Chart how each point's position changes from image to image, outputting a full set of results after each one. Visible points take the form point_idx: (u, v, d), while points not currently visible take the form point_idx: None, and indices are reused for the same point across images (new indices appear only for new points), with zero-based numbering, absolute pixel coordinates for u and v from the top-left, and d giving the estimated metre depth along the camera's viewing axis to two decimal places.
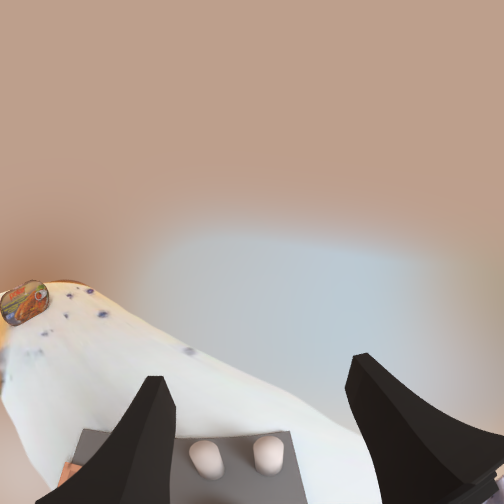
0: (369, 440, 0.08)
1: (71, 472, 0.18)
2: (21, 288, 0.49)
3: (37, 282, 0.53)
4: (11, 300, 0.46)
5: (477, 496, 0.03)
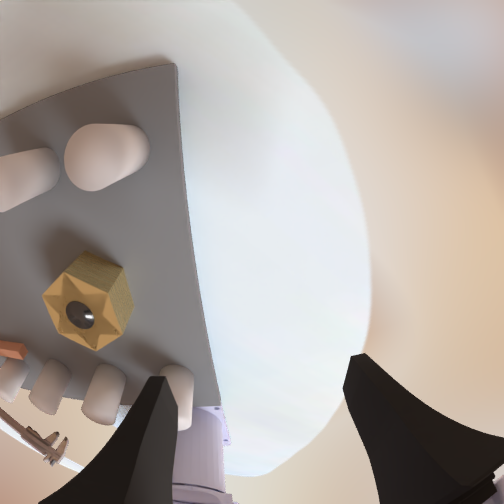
0: (367, 441, 0.08)
1: None
2: None
3: None
4: None
5: (475, 498, 0.03)
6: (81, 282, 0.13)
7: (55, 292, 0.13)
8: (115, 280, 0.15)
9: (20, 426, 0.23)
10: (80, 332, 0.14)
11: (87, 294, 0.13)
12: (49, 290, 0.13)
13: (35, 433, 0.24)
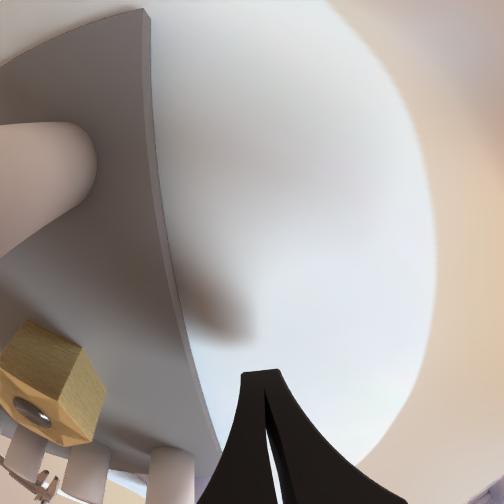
0: (275, 461, 0.08)
1: None
2: None
3: None
4: None
5: None
6: (19, 381, 0.06)
7: None
8: (69, 374, 0.08)
9: None
10: (38, 427, 0.08)
11: (32, 396, 0.07)
12: None
13: None
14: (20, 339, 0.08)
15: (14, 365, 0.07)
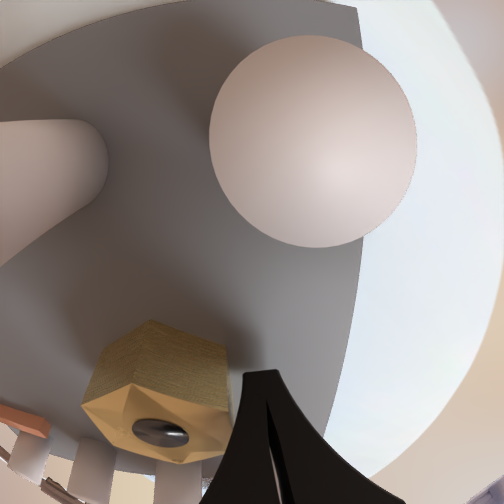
0: (274, 461, 0.08)
1: None
2: None
3: None
4: None
5: None
6: (172, 399, 0.07)
7: (110, 406, 0.07)
8: (225, 377, 0.09)
9: None
10: (156, 448, 0.08)
11: (182, 413, 0.07)
12: (98, 403, 0.07)
13: (57, 485, 0.18)
14: (152, 345, 0.08)
15: (159, 379, 0.07)
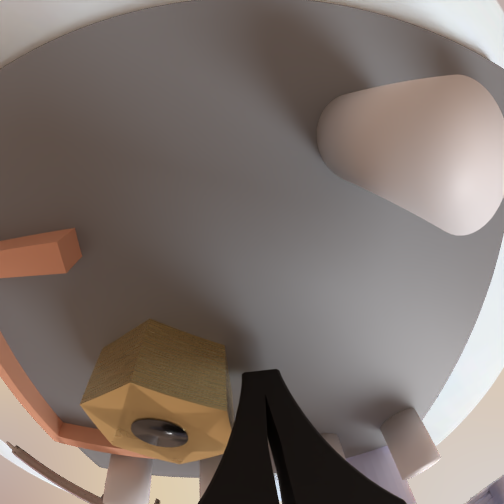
0: (275, 461, 0.08)
1: None
2: None
3: None
4: None
5: None
6: (170, 398, 0.07)
7: (109, 405, 0.07)
8: (224, 377, 0.09)
9: (92, 495, 0.18)
10: (156, 448, 0.08)
11: (181, 413, 0.07)
12: (97, 402, 0.07)
13: None
14: (151, 345, 0.08)
15: (158, 379, 0.07)
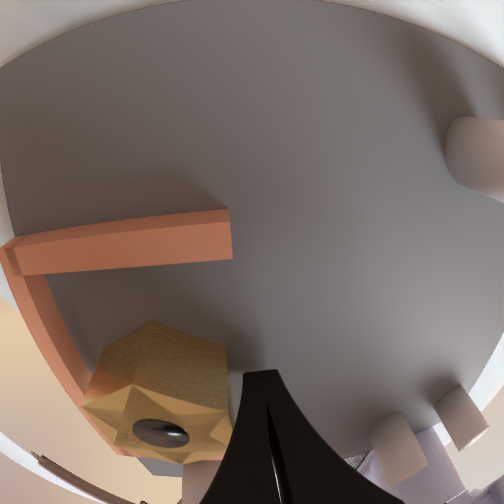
0: (274, 461, 0.08)
1: None
2: None
3: None
4: None
5: None
6: (172, 399, 0.07)
7: (110, 406, 0.07)
8: (225, 377, 0.09)
9: None
10: (157, 449, 0.08)
11: (183, 414, 0.07)
12: (98, 403, 0.07)
13: None
14: (153, 346, 0.08)
15: (159, 380, 0.07)
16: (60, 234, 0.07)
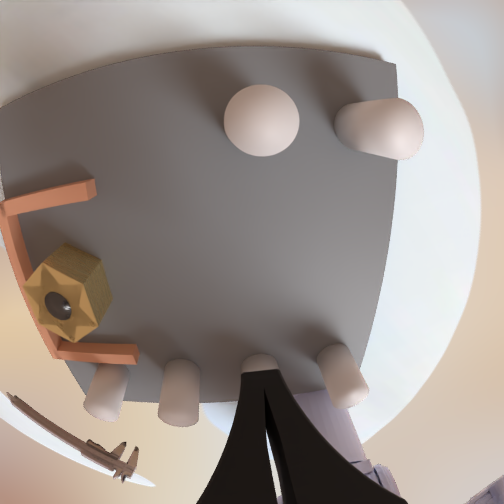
0: (275, 461, 0.08)
1: (10, 216, 0.13)
2: None
3: None
4: None
5: None
6: (58, 273, 0.13)
7: (34, 283, 0.13)
8: (92, 272, 0.14)
9: (78, 440, 0.24)
10: (58, 323, 0.14)
11: (64, 285, 0.13)
12: (29, 281, 0.13)
13: (98, 447, 0.24)
14: (60, 251, 0.14)
15: (55, 264, 0.13)
16: (25, 194, 0.13)
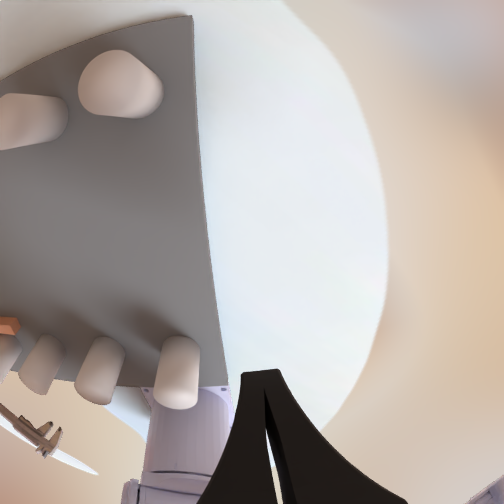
0: (275, 461, 0.08)
1: None
2: None
3: None
4: None
5: None
6: None
7: None
8: None
9: (12, 415, 0.22)
10: None
11: None
12: None
13: (28, 423, 0.23)
14: None
15: None
16: None
